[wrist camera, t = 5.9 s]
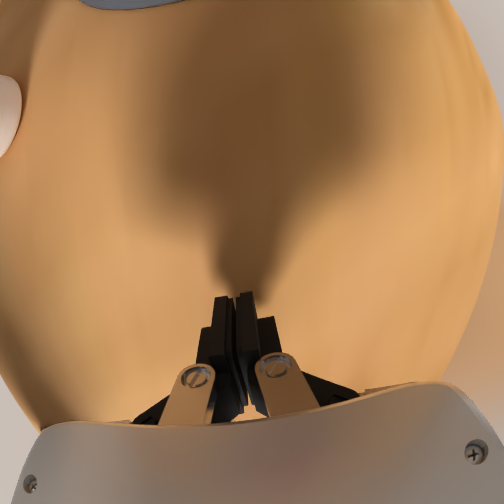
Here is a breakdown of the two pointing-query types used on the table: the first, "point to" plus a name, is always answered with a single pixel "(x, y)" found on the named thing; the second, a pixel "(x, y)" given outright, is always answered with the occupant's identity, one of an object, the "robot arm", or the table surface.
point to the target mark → (126, 4)
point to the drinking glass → (9, 111)
